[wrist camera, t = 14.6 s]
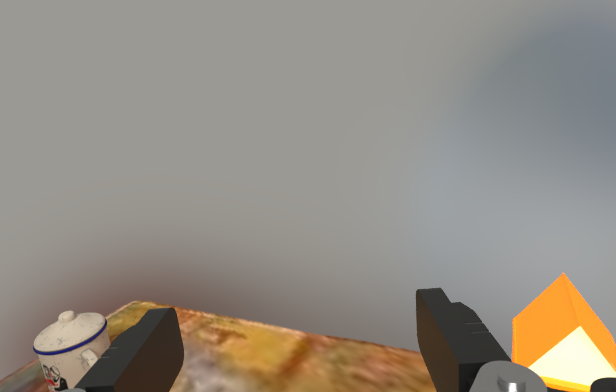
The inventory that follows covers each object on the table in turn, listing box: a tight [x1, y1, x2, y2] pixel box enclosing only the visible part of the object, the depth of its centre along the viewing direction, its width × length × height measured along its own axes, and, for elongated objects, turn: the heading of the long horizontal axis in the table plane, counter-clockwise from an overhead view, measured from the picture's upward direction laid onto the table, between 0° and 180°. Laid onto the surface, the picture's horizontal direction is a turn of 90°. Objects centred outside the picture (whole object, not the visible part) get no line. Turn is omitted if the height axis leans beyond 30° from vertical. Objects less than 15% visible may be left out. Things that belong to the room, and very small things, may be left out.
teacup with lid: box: [33, 311, 111, 392], centre depth 53 cm, size 12×9×12 cm
